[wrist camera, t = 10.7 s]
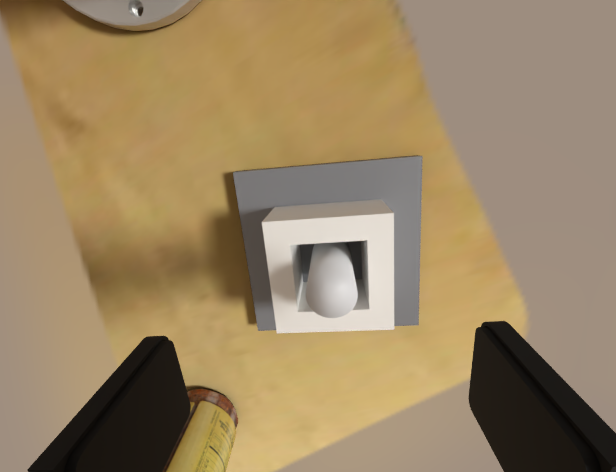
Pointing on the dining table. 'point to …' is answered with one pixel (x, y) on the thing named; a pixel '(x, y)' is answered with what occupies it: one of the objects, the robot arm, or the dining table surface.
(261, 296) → the post base
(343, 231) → the white block
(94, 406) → the robot arm
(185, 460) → the sauce bottle
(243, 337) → the dining table surface
